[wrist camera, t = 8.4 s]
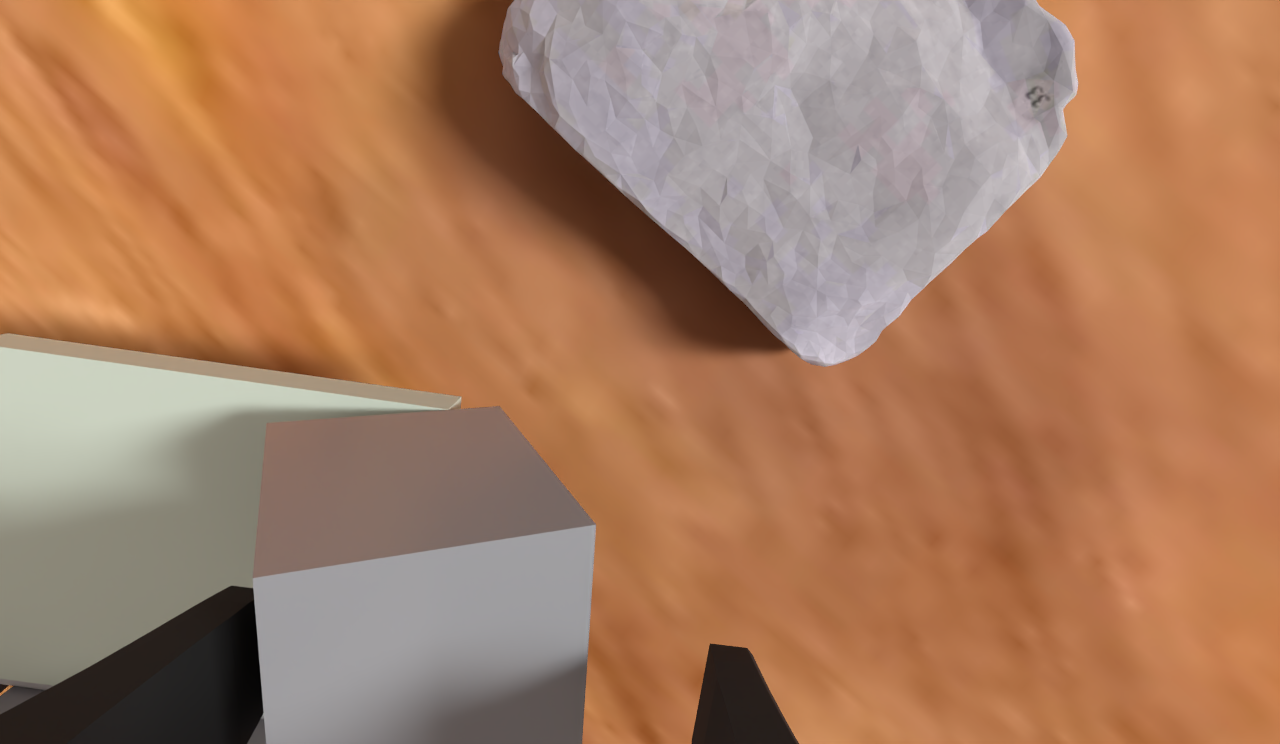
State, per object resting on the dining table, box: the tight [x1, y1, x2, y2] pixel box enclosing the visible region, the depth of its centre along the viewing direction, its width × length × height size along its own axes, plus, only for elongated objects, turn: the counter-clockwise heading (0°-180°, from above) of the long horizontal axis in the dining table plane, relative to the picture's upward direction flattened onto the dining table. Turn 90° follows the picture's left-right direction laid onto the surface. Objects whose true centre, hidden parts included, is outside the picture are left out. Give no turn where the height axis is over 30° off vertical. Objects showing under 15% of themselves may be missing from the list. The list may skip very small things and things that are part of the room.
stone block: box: [499, 0, 1078, 367], centre depth 17 cm, size 12×5×10 cm
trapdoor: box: [0, 333, 461, 744], centre depth 16 cm, size 13×10×3 cm
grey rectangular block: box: [253, 406, 596, 744], centre depth 12 cm, size 4×4×6 cm
